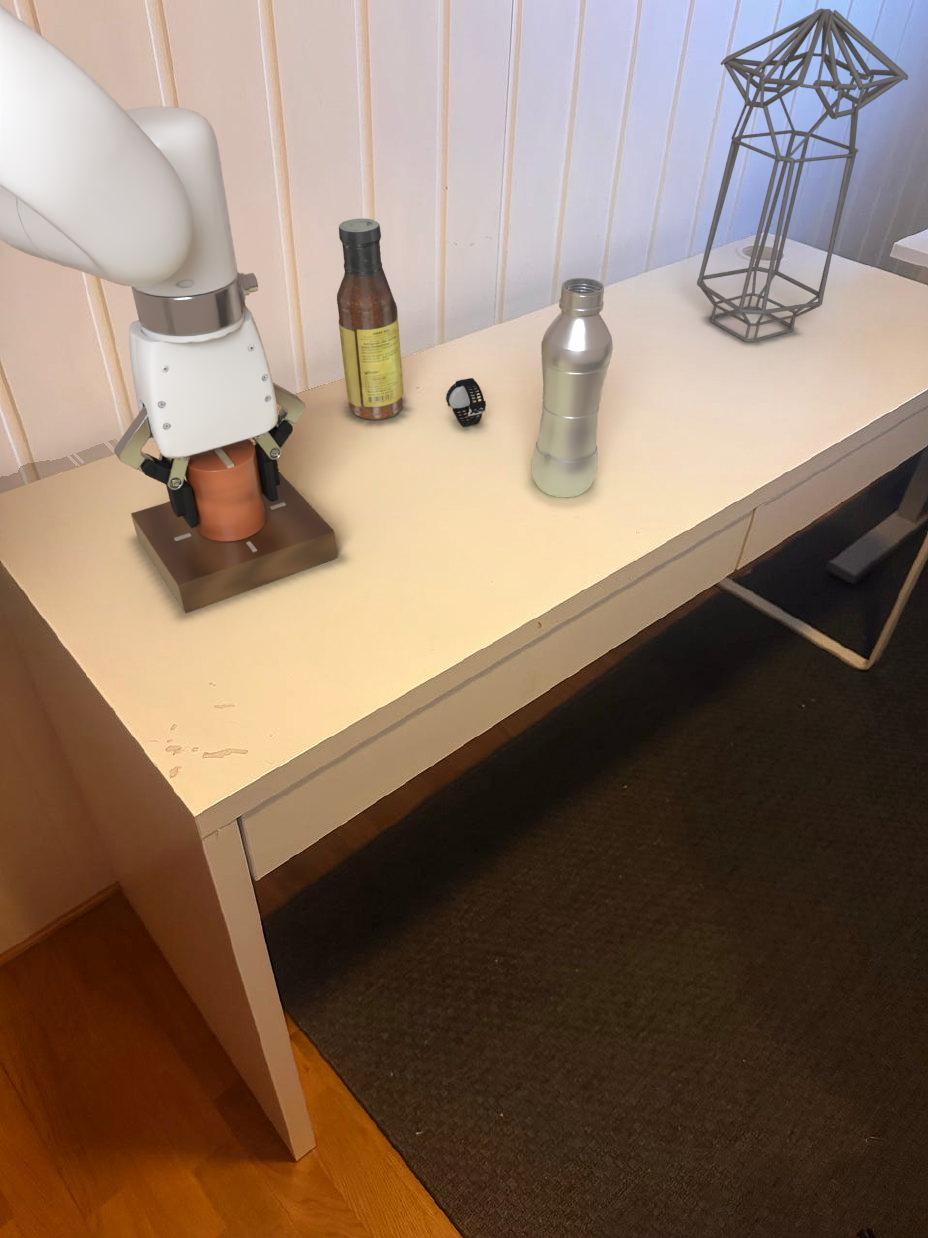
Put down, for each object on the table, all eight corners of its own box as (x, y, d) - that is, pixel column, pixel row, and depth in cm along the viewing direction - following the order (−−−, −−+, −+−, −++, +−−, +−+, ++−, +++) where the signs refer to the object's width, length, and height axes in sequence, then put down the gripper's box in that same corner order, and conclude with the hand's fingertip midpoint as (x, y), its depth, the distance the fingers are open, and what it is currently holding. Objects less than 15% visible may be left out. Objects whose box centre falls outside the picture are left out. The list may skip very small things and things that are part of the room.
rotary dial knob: (186, 514, 79) (169, 441, 74) (250, 495, 81) (238, 423, 76) (210, 549, 75) (194, 475, 70) (277, 528, 78) (266, 454, 73)
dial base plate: (185, 613, 74) (177, 584, 71) (138, 540, 81) (130, 511, 79) (337, 558, 79) (334, 529, 77) (280, 494, 87) (276, 466, 85)
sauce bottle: (413, 403, 101) (408, 219, 88) (387, 427, 97) (378, 238, 84) (362, 391, 103) (350, 210, 90) (335, 415, 99) (318, 228, 86)
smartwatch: (482, 412, 100) (483, 371, 96) (485, 436, 96) (487, 393, 93) (445, 413, 100) (445, 371, 96) (447, 436, 96) (447, 393, 92)
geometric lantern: (669, 313, 121) (721, 2, 98) (761, 295, 127) (832, -4, 103) (742, 360, 111) (820, 23, 88) (840, 338, 116) (938, 16, 93)
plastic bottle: (520, 497, 87) (533, 293, 74) (542, 463, 92) (558, 266, 79) (583, 512, 85) (609, 306, 72) (602, 476, 90) (630, 278, 77)
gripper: (277, 264, 71) (301, 458, 83) (54, 310, 64) (115, 516, 76) (319, 295, 67) (338, 497, 79) (84, 349, 59) (144, 562, 71)
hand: (228, 504), depth 77 cm, fingers open, 6 cm apart
